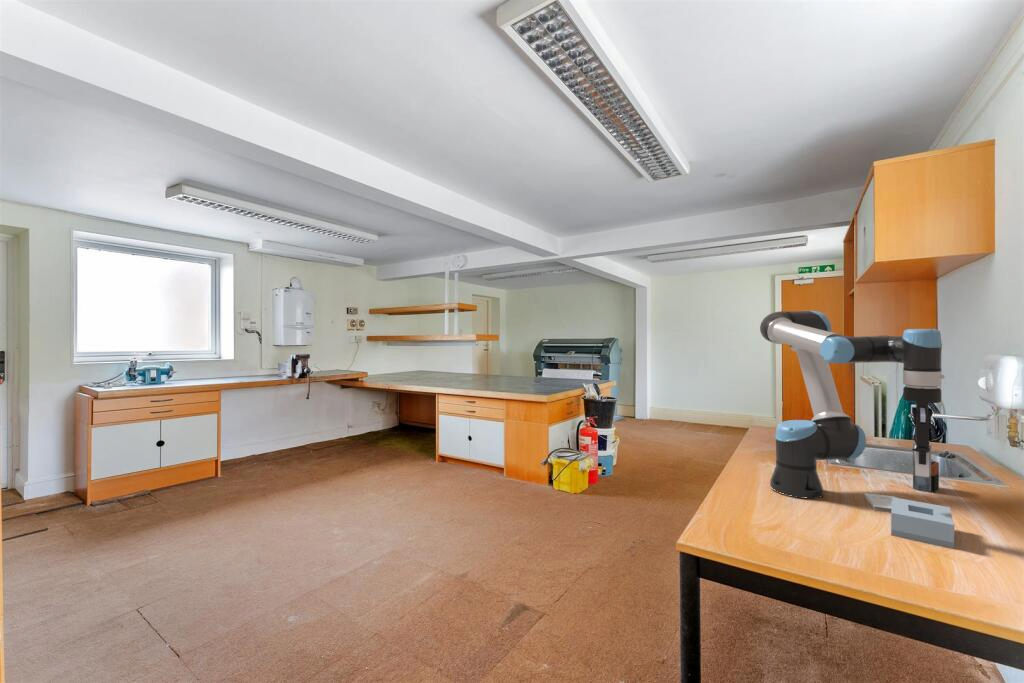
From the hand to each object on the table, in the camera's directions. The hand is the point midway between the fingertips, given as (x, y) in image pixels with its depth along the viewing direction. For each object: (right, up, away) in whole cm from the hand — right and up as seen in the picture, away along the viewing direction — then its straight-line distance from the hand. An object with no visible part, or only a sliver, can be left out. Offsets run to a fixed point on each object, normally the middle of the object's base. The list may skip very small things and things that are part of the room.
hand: (921, 473), depth 121 cm
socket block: (0, -16, +1) cm, 16 cm away
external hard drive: (+6, -16, +19) cm, 26 cm away
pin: (0, -4, 0) cm, 4 cm away
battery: (+31, -15, +31) cm, 46 cm away
